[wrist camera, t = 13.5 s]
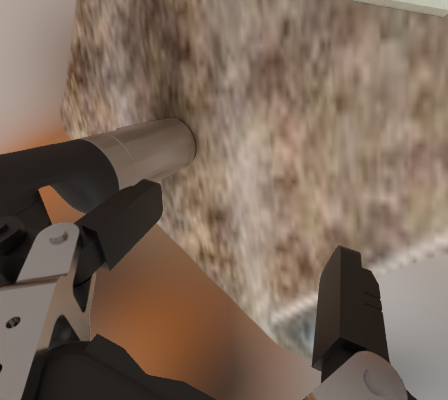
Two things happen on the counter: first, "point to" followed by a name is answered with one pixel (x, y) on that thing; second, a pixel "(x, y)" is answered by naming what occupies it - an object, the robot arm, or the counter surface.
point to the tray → (414, 5)
